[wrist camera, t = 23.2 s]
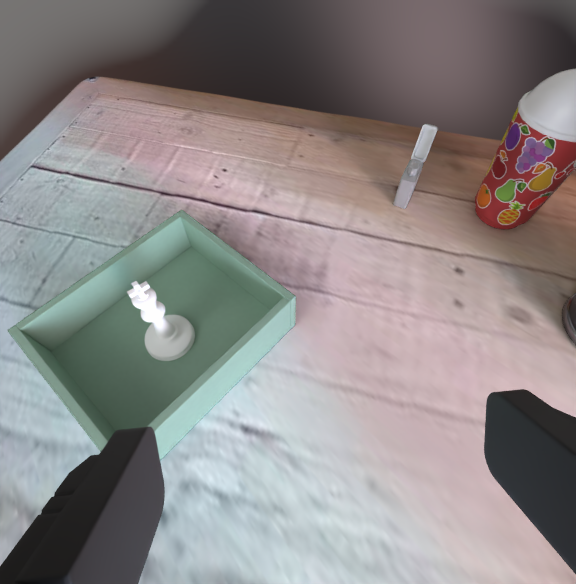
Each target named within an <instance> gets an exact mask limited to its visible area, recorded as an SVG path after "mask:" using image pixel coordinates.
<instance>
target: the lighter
mask: <svg viewBox="0 0 576 584" xmlns="http://www.w3.org/2000/svg"><path fill="white" fill-rule="evenodd" d="M437 130H438V127H437V126H434V125H430V124H424V125H423V127H422V129H421V132H420V135H419V138H418V140H417V143H416V146H415V148H414V151H413V154H412V157H411V158H412V159H411V160H410V161H409V163H408V165H407V167H406V169H405V171H404V173H403V175H402V177H401V180H400V183H399V186H398V189H397V192H396V196H395V199H394V202H393V205H394V206H397V207H400V208H403V209H405V208H406V207H407V204H408V202H409V200H410V198H411V196H412V194H413V191H414V189H415V186H416V184H417V181H418V178H419V175H420V173H421V170H422V167H423V164H424V163H423V162H425V160H426V158H427V156H428V153H429V151H430V148H431V145H432V143H433V140H434V138H435V135H436V133H437Z"/></svg>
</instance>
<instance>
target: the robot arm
mask: <svg viewBox="0 0 576 584" xmlns="http://www.w3.org/2000/svg"><path fill="white" fill-rule="evenodd" d="M562 320H563V324H564V327H565V330H566V332H567V334H568V336H569V337H570V339H571V340H572V341H573V343H574V344H575V345H576V293H575V294H574V295H573V296H572V297H571V298H569V299H568V300H567V302H566V303H565V305H564V307H563V311H562ZM484 453H485V459H486V462H487V465H488V467H489V470H490V472H491V474H492V475H493V477H494V478H495V479H496V481H497V482H498V483H499V484H500V485H501V486H502V488H503V489H504V490H505V491H506V492H507V494H508V495H509V496H510V497H511V498H512V499H513V501H514V502H515V503H516V504H517V505H518V507H519V508H520V509H521V510H522V511H523V512H524V514H525V515H526V516H527V517H528V518H529V520H530V521H531V522H532V523H533V524H534V525H535V527H536V528H537V529H538V530H539V531H540V533H541V534H542V535H543V536H544V537H545V538H546V540H547V541H548V542H549V543H550V544H551V546H552V547H553V548H554V549H555V550H556V551H557V553H558V554H559V555H560V556H561V557H562V559H563V560H564V561H565V562H566V563H567V564H568V566H569V567H570V568H571V569H572V570H573V572H574V573H575V574H576V418H575V417H573V416H571V415H568V414H566V413H564V412H561V411H559V410H557V409H554V408H552V407H551V406H549V405H548V404H547V403H545V402H544V401H542V400H541V399H539V398H538V397H537V396H535V395H534V394H532V393H531V392H529V391H528V390H524V389H521V390H512V391H502V392H493V393H491V394H490V395H489V396H488V398H487V404H486V423H485V443H484ZM164 493H165V492H164V480H163V475H162V469H161V464H160V458H159V452H158V447H157V441H156V436H155V432H154V430H153V428H152V427H140V428H130V429H120V430H116V431H115V432H114V433H113V435H112V436H111V438H110V439H109V441H108V442H107V444H106V445H105V447H104V448H103V450H102V451H101V453H100V454H99V455H91V456H90V457H89V458H87V459H86V460H85V461H84V462H82V463H81V464H80V465H79V466H77V467H76V468H75V469H74V470H72V471H71V472H70V473H69V474H68V476H67V477H66V478H65V480H64V481H63V482H62V484H61V485H60V486H59V488H58V489H57V490H56V492H55V496H54V497H51V499H50V500H49V501H48V503H47V504H46V505H45V507H44V508H43V509H42V513H41V515H38V516H37V517H36V519H35V520H34V522H33V523H32V524H31V526H30V527H29V528H28V530H27V531H26V532H25V534H24V535H23V536H22V538H21V539H20V540H19V542H18V543H17V545H16V546H15V547H14V549H13V550H12V551H11V553H10V554H9V555H8V557H7V558H6V559H5V561H4V562H3V563H2V565H1V566H0V584H138V582H139V579H140V576H141V573H142V571H143V568H144V565H145V562H146V559H147V556H148V553H149V550H150V547H151V544H152V541H153V538H154V535H155V532H156V529H157V526H158V523H159V520H160V517H161V514H162V511H163V505H164Z"/></svg>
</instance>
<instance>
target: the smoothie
mask: <svg viewBox="0 0 576 584" xmlns="http://www.w3.org/2000/svg"><path fill="white" fill-rule="evenodd" d="M575 169H576V69H571V70H566V71H562V72H560V73H557V74H555V75H553V76H551V77H549V78H548V79H546V80H544V81H542V82H541V83H540V84H539V85H537V86H536V87H535V88H534V89H533V90H532V91H530V92H528V93H526V94H524V95H523V97H522V98H521V99H520V101H519V104H518V108H517V110H516V112H515V114H514V116H513V118H512V120H511V122H510V124H509V127H508V129H507V131H506V133H505V135H504V137H503V139H502V141H501V144H500V146H499V148H498V150H497V152H496V154H495V156H494V158H493V161H492V163H491V165H490V167H489V169H488V171H487V173H486V175H485V178H484V180H483V182H482V184H481V186H480V188H479V190H478V193H477V195H476V197H475V204H476V209H475V211H476V213H477V215H478V217H479V218H480V219H481V220H482V221H483V222H485V223H486V224H487V225H490V226H492V227H494V228H499V229H511V228H515V227H517V226H518V225H521V224H524V223H526V222H527V221H528V220H530V218H531V217H532V216H533V215H534V214H535V213H536V212H537V211H538V209H539V208H540V207H541V206H542V205H543V204H544V203H545V202H546V201H547V200H548V198H549V197H550V196H551V195H552V194H553V193H554V192H555V191H556V190H557V188H558V187H559V186H560V185H561V184H562V183H563V182H564V181H565V180H566V179H567V177H568V176H569V175H570V174H571V173H572V172H573V171H574V170H575Z"/></svg>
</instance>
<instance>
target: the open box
mask: <svg viewBox="0 0 576 584" xmlns="http://www.w3.org/2000/svg"><path fill="white" fill-rule="evenodd" d="M135 281H137V283H138V284H139V285H140V284H142V283H143V282H145V281H146V282H147V283H148V284H149V286H150V288H152V289H153V290H154V291H155V292H156V297H157V299H156V301H159V302H161V303H162V304H163V305H164V306H165V313H164V315H163V316H166V315H179V316H182V317H184V318H186V319H187V320H188V321H189V322H190V323H191V324H192V326H193V328H194V331H195V339H194V343H193V345H192V347H191V348H190V350H189V351H188V352H187V353H186V354H185V355H183V356H182V357H180V358H178V359H176V360H172V361H160V360H157V359H155V358H153V357H152V356H151V355H150V354H149V353H148V351H147V349H146V346H145V341H144V340H145V334H146V331H147V329H148V328H149V326H150V325H151V324H152V322H146V321H144V320H143V319H142V317H141V309H138V308H136V307H135V306H134V305H133V304H132V301H131V298H130V296H129V295H128V293H127V291H129V290H131V289H133V288H134V287H133V286H132V284H131V283H133V282H135ZM295 312H296V296H295V295H294V294H292V293H291V292H290V291H288V290H287V289H286V288H284V287H283V286H282V285H280V284H279V283H278V282H276V281H275V280H274V279H272V278H271V277H270V276H268V275H267V274H266V273H265V272H263V271H262V270H261V269H259V268H258V267H257V266H255V265H254V264H253V263H251V262H250V261H249V260H247V259H246V258H245V257H243V256H242V255H241V254H239V253H238V252H237V251H236V250H234V249H233V248H232V247H230V246H229V245H228V244H226V243H225V242H224V241H222V240H221V239H220V238H218V237H217V236H216V235H214V234H213V233H212V232H211V231H209V230H208V229H207V228H205V227H204V226H203V225H201V224H200V223H199V222H197V221H196V220H195V219H193V218H192V217H191V216H189V215H188V214H187V213H185V212H184V211H183V210H180V211H179V212H177V213H176V214H174V215H173V216H172V217H170V218H169V219H167V220H166V221H164V222H163V223H161V224H160V225H159V226H157V227H156V228H154V229H153V230H151V231H150V232H148V233H147V234H146V235H144V236H143V237H141V238H140V239H138V240H137V241H135V242H134V243H133V244H131V245H130V246H128V247H127V248H125V249H124V250H122V251H121V252H120V253H118V254H117V255H115V256H114V257H112V258H111V259H110V260H108V261H107V262H105V263H104V264H102V265H101V266H99V267H98V268H97V269H95V270H94V271H92V272H91V273H89V274H88V275H86V276H85V277H84V278H82V279H81V280H79V281H78V282H76V283H75V284H73V285H72V286H71V287H69V288H68V289H66V290H65V291H63V292H62V293H60V294H59V295H58V296H56V297H55V298H53V299H52V300H50V301H49V302H47V303H46V304H45V305H43V306H42V307H40V308H39V309H37V310H36V311H34V312H33V313H32V314H30V315H29V316H27V317H26V318H24V319H23V320H22V321H20V322H19V323H17V324H16V325H14V326H13V327H12V328H10V329H9V330H8V332H9V333H10V335H11V336H12V337H13V339H14V340H15V341H16V343H17V344H18V345H19V346H20V348H21V349H22V350H23V352H24V353H25V354H26V356H27V357H28V358H29V359H30V361H31V362H32V363H33V365H34V366H35V367H36V368H37V370H38V371H39V372H40V374H41V375H42V376H43V378H44V379H45V380H46V381H47V383H48V384H49V385H50V387H51V388H52V389H53V391H54V392H55V393H56V394H57V396H58V397H59V398H60V400H61V401H62V402H63V404H64V405H65V406H66V407H67V409H68V410H69V411H70V413H71V414H72V415H73V416H74V418H75V419H76V420H77V422H78V423H79V424H80V426H81V427H82V428H83V429H84V431H85V432H86V433H87V435H88V436H89V437H90V439H91V440H92V441H93V442H94V444H95V445H96V446H97V448H98V449H99V450H100V451H102V450H103V448H104V447H105V445H106V444H107V442H108V441H109V439H110V438H111V436H112V435H113V433H114V432H115V431H116V430H120V429H130V428H140V427H152V428H153V430H154V432H155V436H156V441H157V447H158V452H159V458H160V460H161V459H162V458H163V457H164V456H165V455H166V454H167V453H168V452H169V451H170V450H171V449H172V448H173V447H174V446H175V445H176V444H177V443H178V442H179V441H180V440H181V439H182V438H183V437H184V436H185V435H186V434H187V433H188V432H189V431H190V430H191V429H192V428H193V427H194V426H195V425H196V424H197V423H198V422H199V421H200V420H201V419H202V418H203V417H204V416H205V415H206V414H207V413H208V412H209V411H210V410H211V409H212V408H213V407H214V406H215V405H216V404H217V403H218V402H219V401H220V400H221V399H222V398H223V397H224V396H225V395H226V394H227V393H228V392H229V391H230V390H231V389H232V388H233V387H234V386H235V385H236V384H237V383H238V382H239V381H240V380H241V379H242V378H243V377H244V376H245V375H246V374H247V373H248V372H249V371H250V370H251V369H252V368H253V367H254V366H255V365H256V364H257V363H258V362H259V361H260V360H261V359H262V358H263V357H264V356H265V355H266V354H267V353H268V352H269V351H270V350H271V349H272V348H273V347H274V346H275V345H276V344H277V343H278V342H279V341H280V340H281V339H282V338H283V337H284V336H285V335H286V334H287V333H288V332H289V331H290V330H291V329H292V328H293V327H294V326H295Z"/></svg>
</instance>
